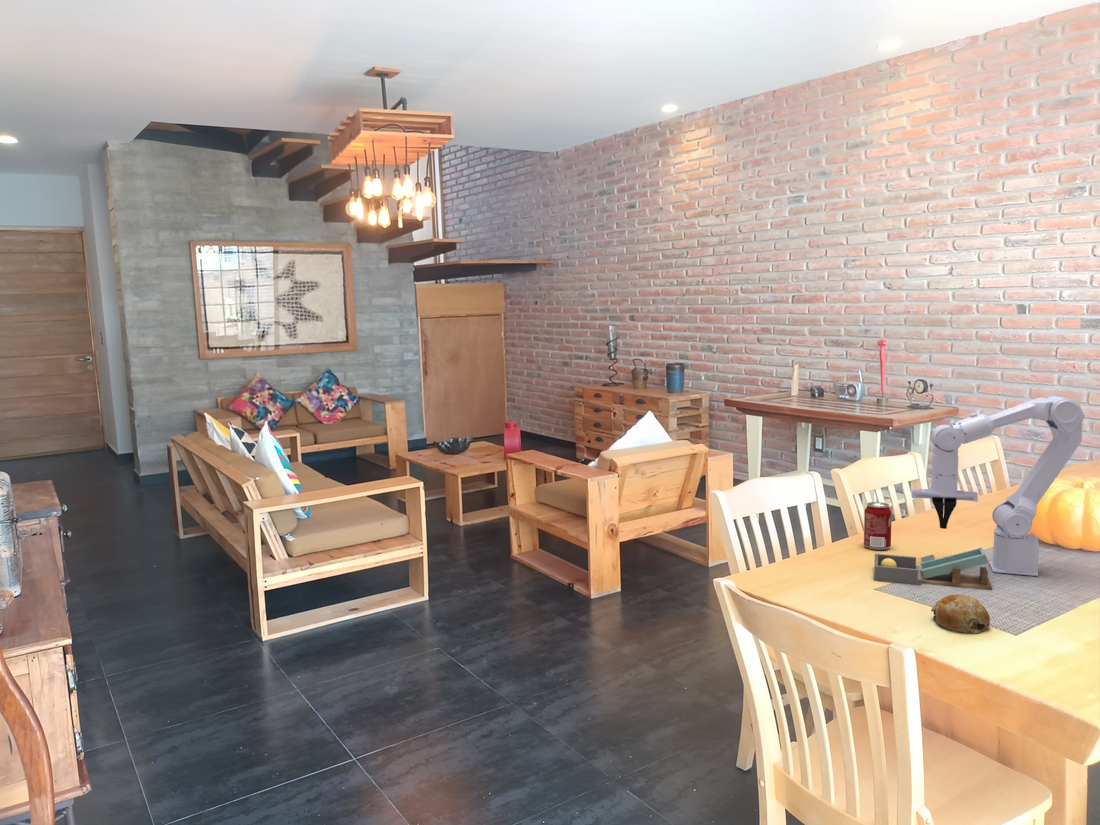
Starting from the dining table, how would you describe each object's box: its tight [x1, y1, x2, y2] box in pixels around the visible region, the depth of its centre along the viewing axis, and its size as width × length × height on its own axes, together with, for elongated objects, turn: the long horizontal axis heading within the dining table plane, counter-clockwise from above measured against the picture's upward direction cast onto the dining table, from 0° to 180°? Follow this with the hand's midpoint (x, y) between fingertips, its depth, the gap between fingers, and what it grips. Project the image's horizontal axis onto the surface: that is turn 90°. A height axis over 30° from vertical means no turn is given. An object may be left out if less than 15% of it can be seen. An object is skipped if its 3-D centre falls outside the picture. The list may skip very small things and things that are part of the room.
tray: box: [873, 553, 922, 586], centre depth 190 cm, size 10×11×4 cm
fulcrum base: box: [920, 566, 993, 591], centre depth 185 cm, size 15×8×4 cm, turn 67°
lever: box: [920, 547, 989, 579], centre depth 189 cm, size 14×14×2 cm
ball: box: [881, 558, 897, 567], centre depth 191 cm, size 4×4×4 cm
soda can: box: [863, 501, 893, 551], centre depth 213 cm, size 7×7×12 cm
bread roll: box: [930, 593, 991, 635], centre depth 160 cm, size 10×10×8 cm
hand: (943, 527), depth 195 cm, fingers closed
